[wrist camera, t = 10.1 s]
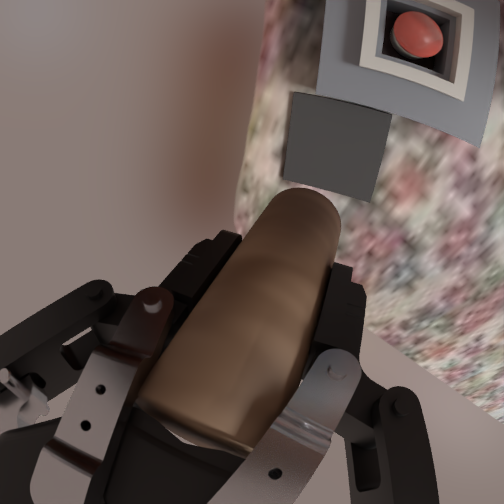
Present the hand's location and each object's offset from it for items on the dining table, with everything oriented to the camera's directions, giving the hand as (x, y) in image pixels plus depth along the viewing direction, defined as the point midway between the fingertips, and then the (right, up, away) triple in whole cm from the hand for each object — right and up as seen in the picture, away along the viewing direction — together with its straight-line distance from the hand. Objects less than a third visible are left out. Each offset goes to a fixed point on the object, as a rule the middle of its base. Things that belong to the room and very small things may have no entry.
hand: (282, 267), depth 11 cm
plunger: (+12, +18, +5) cm, 22 cm away
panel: (+12, +18, +5) cm, 23 cm away
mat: (+7, +10, +14) cm, 18 cm away
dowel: (+1, +2, +2) cm, 3 cm away
